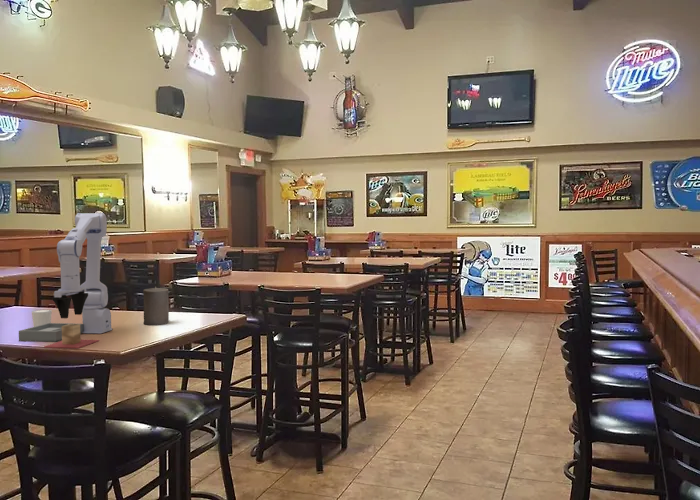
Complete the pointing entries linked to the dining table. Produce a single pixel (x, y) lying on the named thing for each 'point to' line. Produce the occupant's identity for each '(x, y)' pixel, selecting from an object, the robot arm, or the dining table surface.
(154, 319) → the pillar candle
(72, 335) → the maple block
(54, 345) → the bar mat
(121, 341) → the dining table surface
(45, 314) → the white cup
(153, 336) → the dining table surface
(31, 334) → the grey green tray
